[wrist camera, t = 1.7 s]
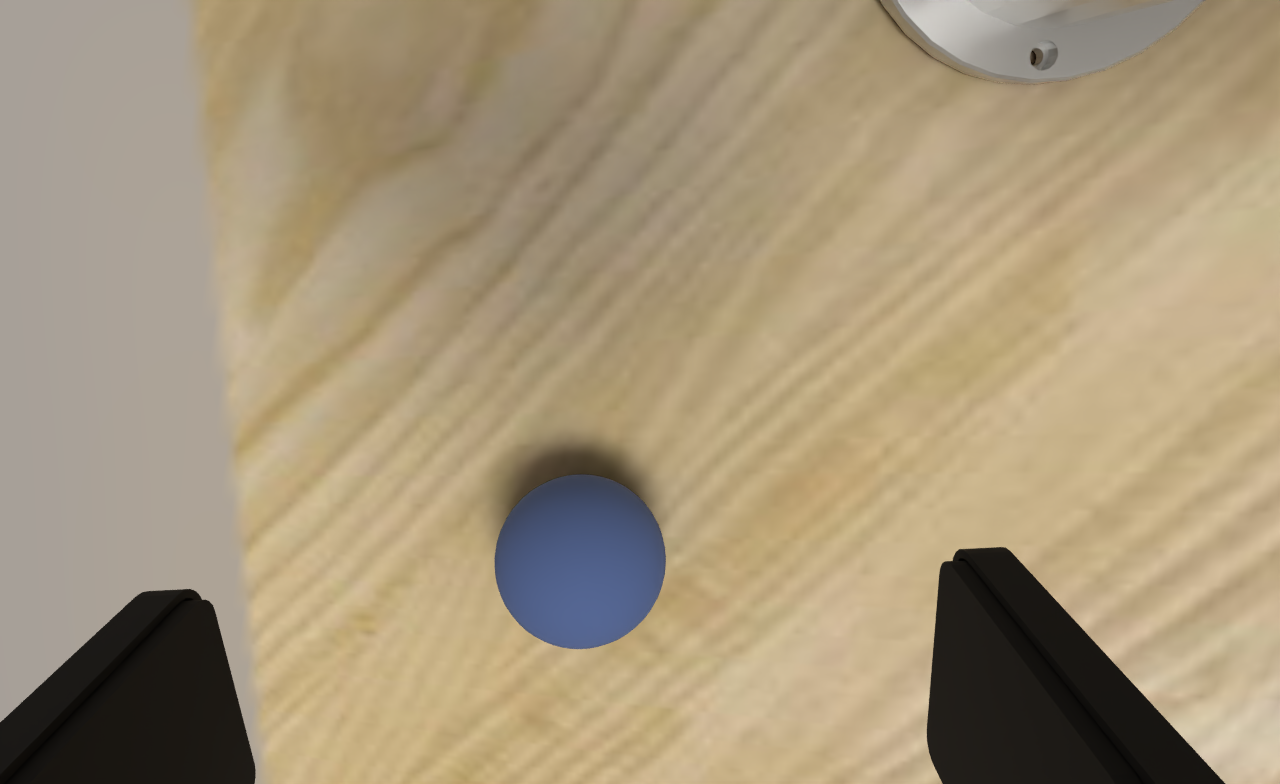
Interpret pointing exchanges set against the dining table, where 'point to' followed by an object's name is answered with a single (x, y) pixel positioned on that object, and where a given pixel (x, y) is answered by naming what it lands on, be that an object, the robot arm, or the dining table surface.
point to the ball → (580, 561)
